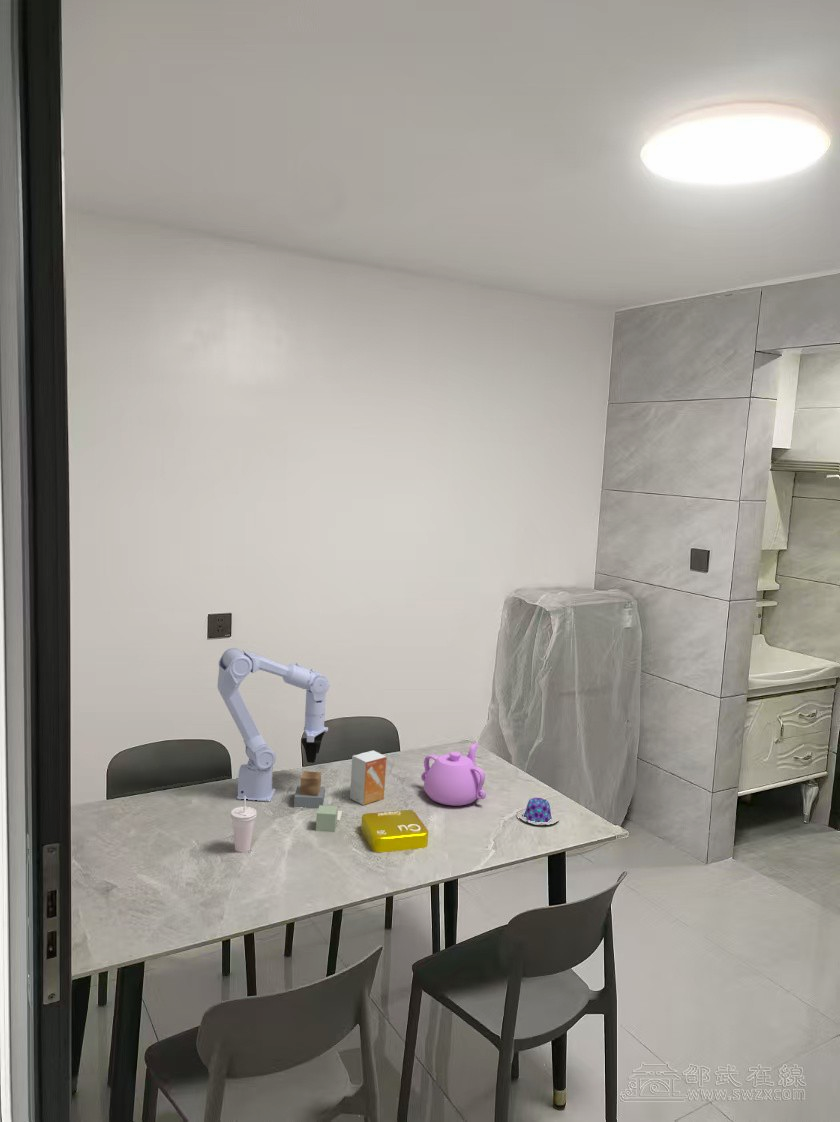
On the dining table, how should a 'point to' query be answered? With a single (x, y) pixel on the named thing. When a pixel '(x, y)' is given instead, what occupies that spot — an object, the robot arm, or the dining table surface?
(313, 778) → the walnut cube
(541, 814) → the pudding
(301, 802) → the slate block
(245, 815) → the smoothie
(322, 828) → the sage cube
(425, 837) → the element tile
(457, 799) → the teapot
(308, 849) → the dining table surface
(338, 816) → the card
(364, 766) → the small box
